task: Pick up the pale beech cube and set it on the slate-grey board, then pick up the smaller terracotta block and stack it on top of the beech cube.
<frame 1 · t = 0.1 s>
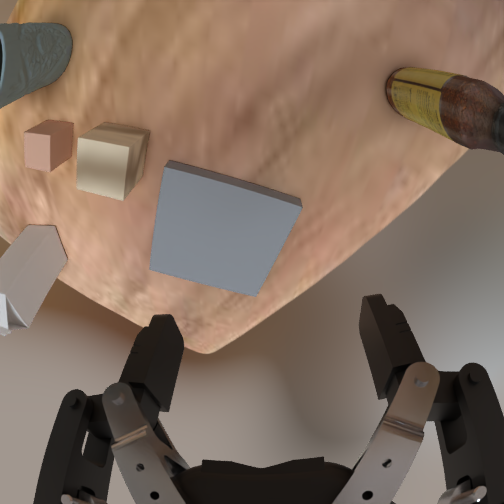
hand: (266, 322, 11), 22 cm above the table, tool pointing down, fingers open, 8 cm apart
teal cup: (47, 56, 19), on the table
base board: (218, 232, 36), on the table
sauce bottle: (406, 90, 23), on the table
terracotta block: (59, 137, 26), on the table
milk carton: (48, 241, 37), on the table
beech cube: (123, 149, 28), on the table
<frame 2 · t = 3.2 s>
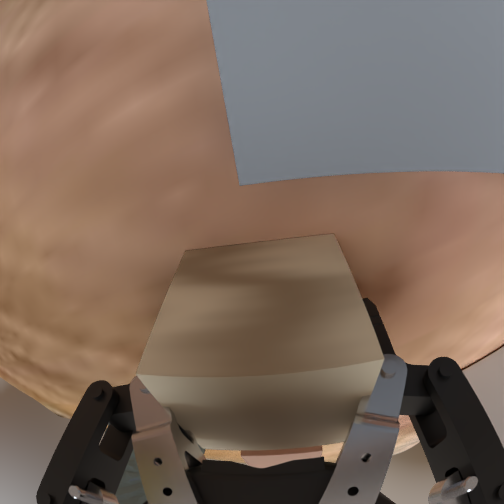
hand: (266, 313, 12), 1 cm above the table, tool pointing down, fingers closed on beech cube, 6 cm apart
teal cup: (163, 417, 21), on the table
terracotta block: (282, 400, 18), on the table
milk carton: (474, 373, 18), on the table
beech cube: (267, 299, 12), on the table, touching gripper
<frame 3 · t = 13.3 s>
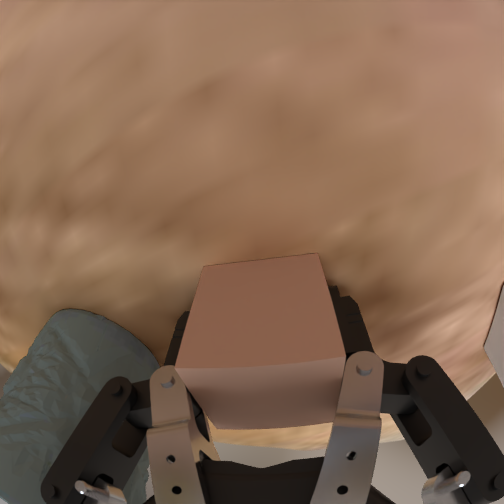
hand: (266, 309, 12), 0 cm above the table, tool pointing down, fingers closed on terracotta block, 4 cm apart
teal cup: (106, 353, 15), on the table
terracotta block: (267, 303, 12), on the table, touching gripper
when the fingers open (9 cm above the table, at t = 18.1 s): terracotta block stays where it is, resting on beech cube.
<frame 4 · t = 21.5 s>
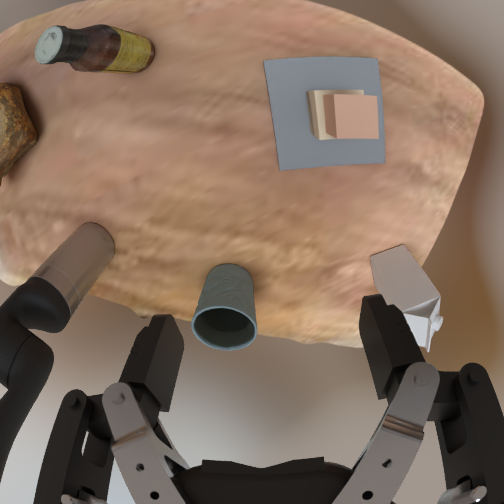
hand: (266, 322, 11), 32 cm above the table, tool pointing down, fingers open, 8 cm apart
teal cup: (231, 282, 51), on the table
base board: (327, 110, 34), on the table
sauce bottle: (136, 56, 30), on the table
rough brown rock: (20, 128, 34), on the table
terracotta block: (343, 113, 27), point 8 cm above the table, touching beech cube
milk carton: (388, 263, 48), on the table
beech cube: (330, 111, 33), point 2 cm above the table, touching base board, terracotta block
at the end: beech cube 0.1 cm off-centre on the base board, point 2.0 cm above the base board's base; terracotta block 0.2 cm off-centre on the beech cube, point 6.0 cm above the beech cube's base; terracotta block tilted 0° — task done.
